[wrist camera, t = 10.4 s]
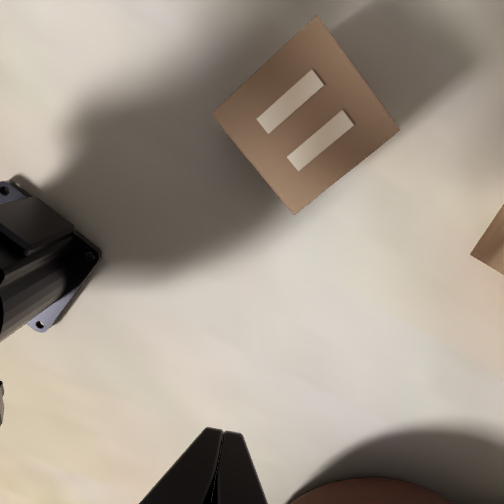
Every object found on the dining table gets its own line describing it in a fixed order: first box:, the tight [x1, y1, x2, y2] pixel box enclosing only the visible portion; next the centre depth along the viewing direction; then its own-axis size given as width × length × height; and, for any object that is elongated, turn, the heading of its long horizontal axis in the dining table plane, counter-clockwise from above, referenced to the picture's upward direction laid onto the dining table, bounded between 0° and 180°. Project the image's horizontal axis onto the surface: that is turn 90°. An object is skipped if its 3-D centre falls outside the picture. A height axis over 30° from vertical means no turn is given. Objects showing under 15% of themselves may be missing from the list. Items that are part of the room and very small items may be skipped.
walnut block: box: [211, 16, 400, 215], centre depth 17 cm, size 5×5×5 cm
